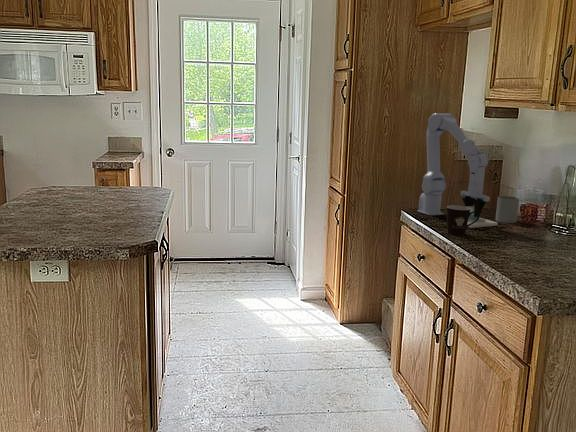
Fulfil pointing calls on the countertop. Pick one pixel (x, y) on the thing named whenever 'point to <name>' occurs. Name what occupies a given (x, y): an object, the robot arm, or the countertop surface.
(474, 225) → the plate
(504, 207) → the cup
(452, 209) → the coffee mug
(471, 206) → the block
